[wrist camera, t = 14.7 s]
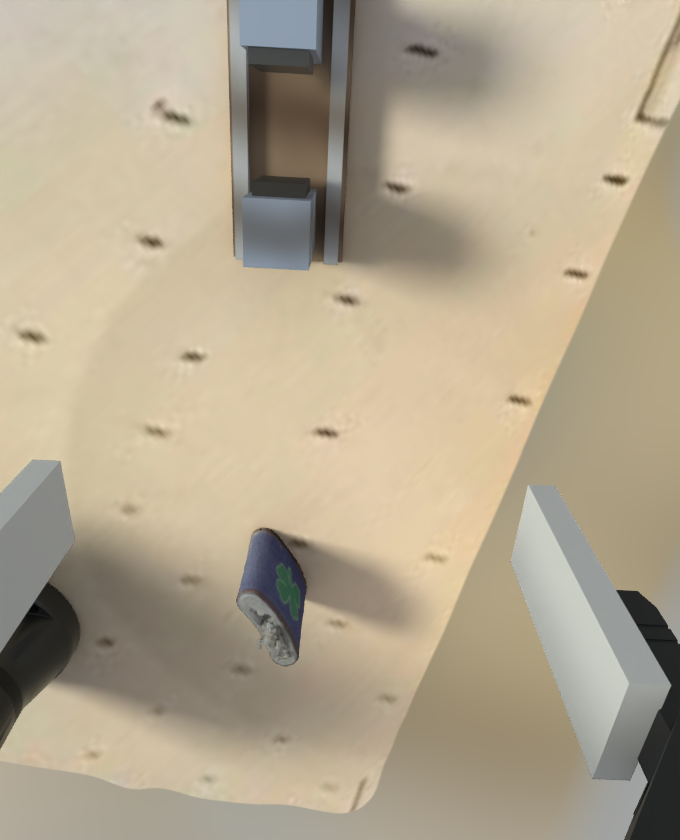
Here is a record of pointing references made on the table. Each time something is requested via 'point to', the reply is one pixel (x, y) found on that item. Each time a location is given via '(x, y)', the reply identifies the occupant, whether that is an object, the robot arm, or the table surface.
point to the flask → (273, 595)
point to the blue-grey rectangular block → (282, 34)
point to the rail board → (290, 150)
